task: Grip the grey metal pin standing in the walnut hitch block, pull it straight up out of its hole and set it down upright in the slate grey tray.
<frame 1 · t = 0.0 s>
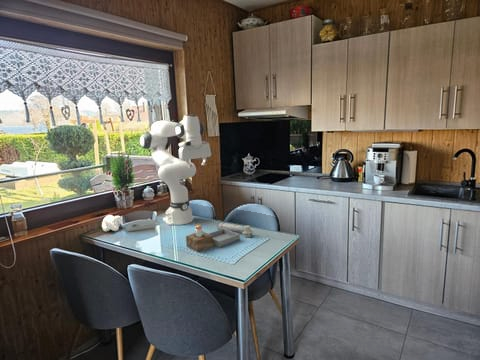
hand: (197, 166, 182), 39 cm above the table, tool pointing down, fingers open, 8 cm apart
electric toothbrush: (235, 233, 182), on the table
white knot: (111, 230, 195), on the table
hitch block: (199, 246, 164), on the table
tray: (221, 240, 171), on the table
pin: (199, 236, 163), in the hitch block
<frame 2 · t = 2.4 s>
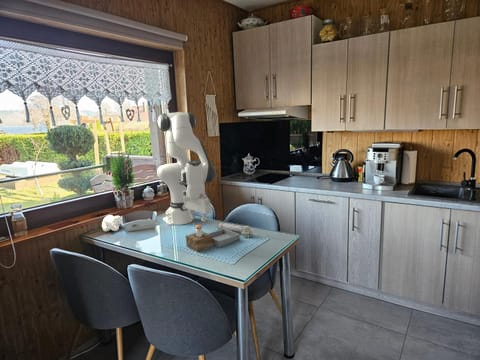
hand: (198, 219, 161), 15 cm above the table, tool pointing down, fingers open, 8 cm apart
nothing on the table moved.
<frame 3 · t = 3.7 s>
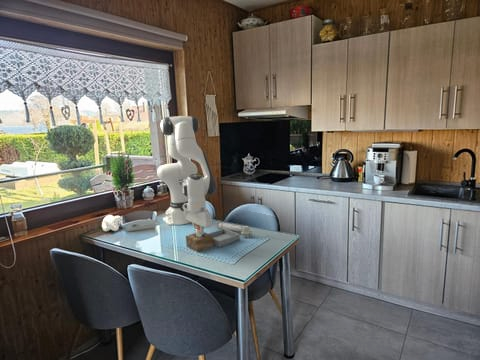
hand: (198, 231, 162), 8 cm above the table, tool pointing down, fingers closed on pin, 3 cm apart
pin: (199, 236, 163), in the hitch block, touching gripper
everything else where it was.
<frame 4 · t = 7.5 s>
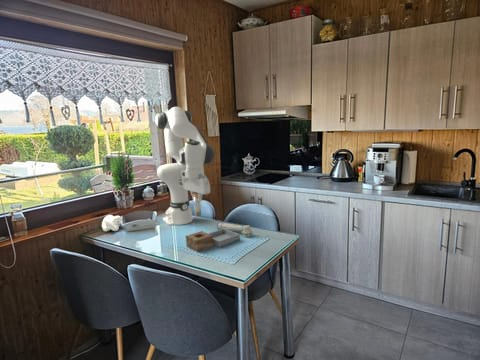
hand: (197, 200, 159), 25 cm above the table, tool pointing down, fingers closed on pin, 3 cm apart
pin: (197, 205, 160), point 22 cm above the table, touching gripper
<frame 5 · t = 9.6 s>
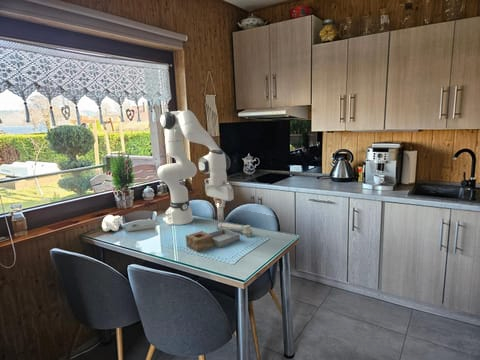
hand: (220, 206, 167), 19 cm above the table, tool pointing down, fingers closed on pin, 3 cm apart
pin: (220, 210, 167), point 17 cm above the table, touching gripper
everything else where it was.
when the fingers open (11 cm above the table, at t = 11.3 s): pin drops 2 cm, resting on tray.
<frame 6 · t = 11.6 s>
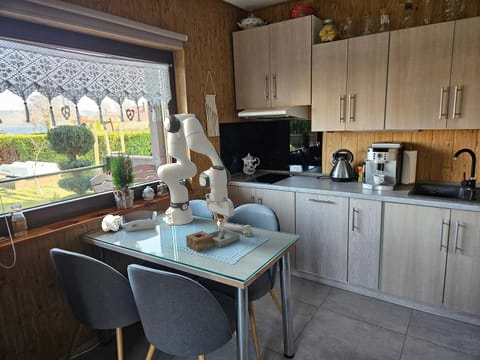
hand: (220, 221, 169), 11 cm above the table, tool pointing down, fingers open, 6 cm apart
pin: (221, 228, 170), in the tray, point 7 cm above the table
everything else where it was.
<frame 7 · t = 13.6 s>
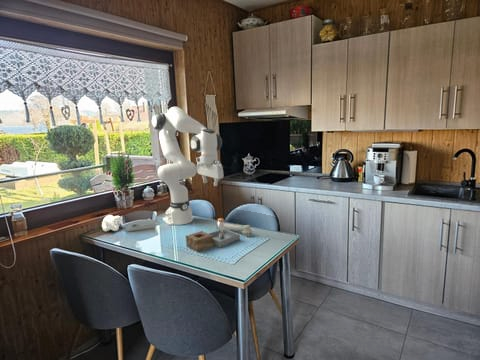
hand: (210, 184, 173), 30 cm above the table, tool pointing down, fingers open, 8 cm apart
nothing on the table moved.
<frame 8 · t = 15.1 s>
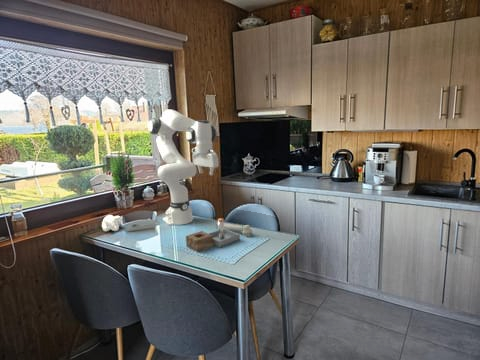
hand: (206, 174, 176), 35 cm above the table, tool pointing down, fingers open, 8 cm apart
nothing on the table moved.
at the end: pin inside the target area on the tray (0.1 cm from its centre), point 6.6 cm above the tray's base; the gripper is holding nothing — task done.
